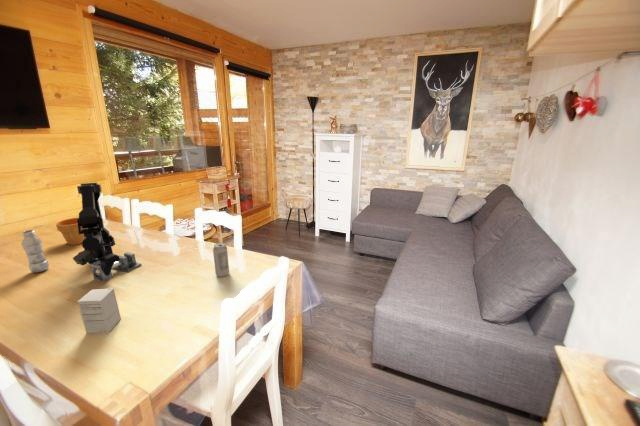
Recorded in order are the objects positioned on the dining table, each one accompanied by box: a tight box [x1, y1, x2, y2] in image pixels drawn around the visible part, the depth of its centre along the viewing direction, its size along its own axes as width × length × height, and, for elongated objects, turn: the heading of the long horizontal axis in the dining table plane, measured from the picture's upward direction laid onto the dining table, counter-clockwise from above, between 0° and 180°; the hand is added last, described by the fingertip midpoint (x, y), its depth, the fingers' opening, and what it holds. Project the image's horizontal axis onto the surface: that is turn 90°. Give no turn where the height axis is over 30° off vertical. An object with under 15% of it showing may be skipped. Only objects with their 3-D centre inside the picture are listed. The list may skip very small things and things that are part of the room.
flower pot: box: [55, 217, 88, 246], centre depth 165 cm, size 14×14×13 cm
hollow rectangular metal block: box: [89, 260, 114, 282], centre depth 127 cm, size 6×4×8 cm, turn 70°
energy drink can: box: [212, 242, 230, 278], centre depth 130 cm, size 6×6×15 cm
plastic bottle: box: [21, 229, 50, 274], centre depth 131 cm, size 6×7×20 cm
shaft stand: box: [95, 252, 142, 276], centre depth 133 cm, size 10×17×6 cm, turn 160°
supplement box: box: [77, 288, 122, 334], centre depth 96 cm, size 7×7×13 cm
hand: (102, 274), depth 128 cm, fingers open, 7 cm apart
